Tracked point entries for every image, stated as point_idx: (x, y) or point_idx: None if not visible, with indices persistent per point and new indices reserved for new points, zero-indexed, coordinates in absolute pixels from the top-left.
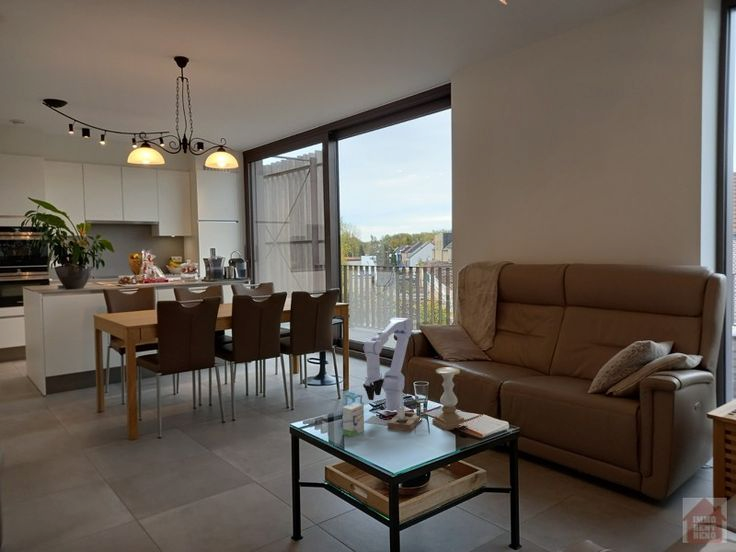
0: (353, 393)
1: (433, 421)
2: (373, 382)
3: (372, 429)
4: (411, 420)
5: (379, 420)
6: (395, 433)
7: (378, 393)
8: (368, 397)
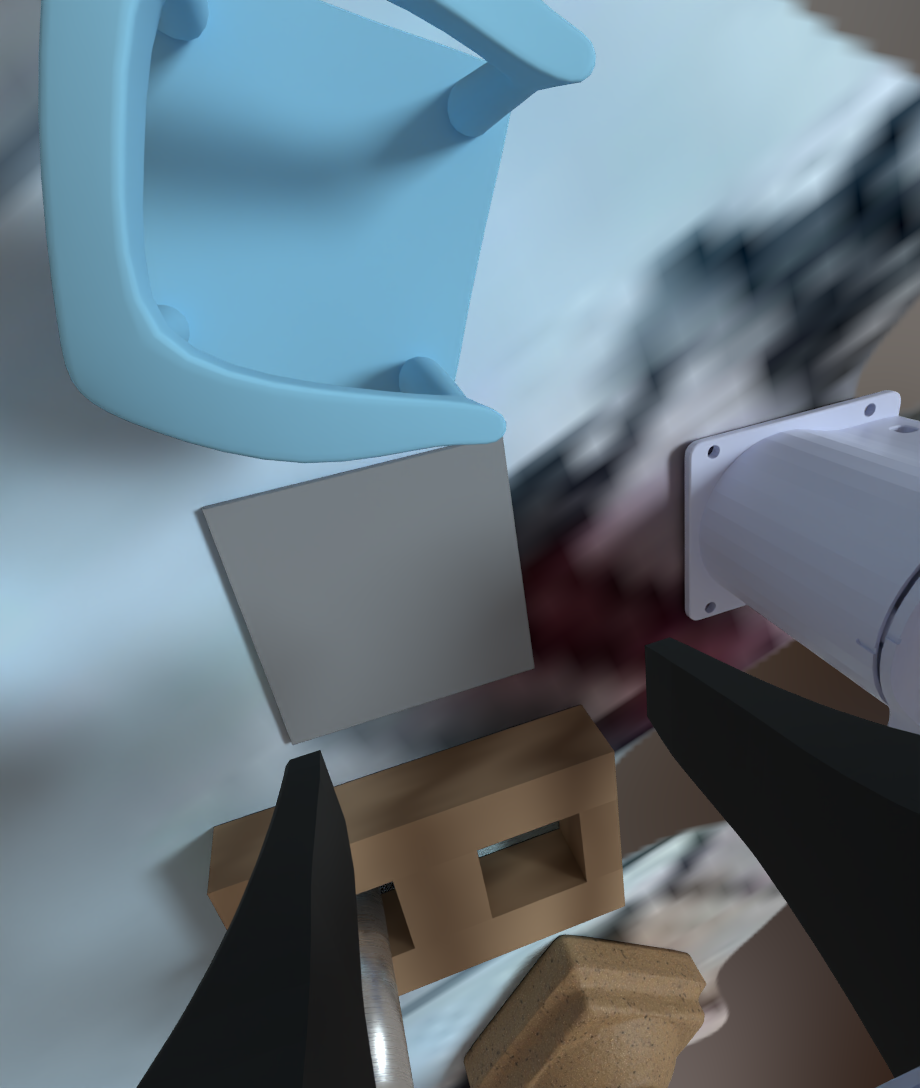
0: (515, 62)
1: (554, 970)
2: (886, 827)
3: (105, 720)
4: (411, 972)
5: (389, 613)
6: (179, 924)
7: (666, 722)
8: (280, 807)
